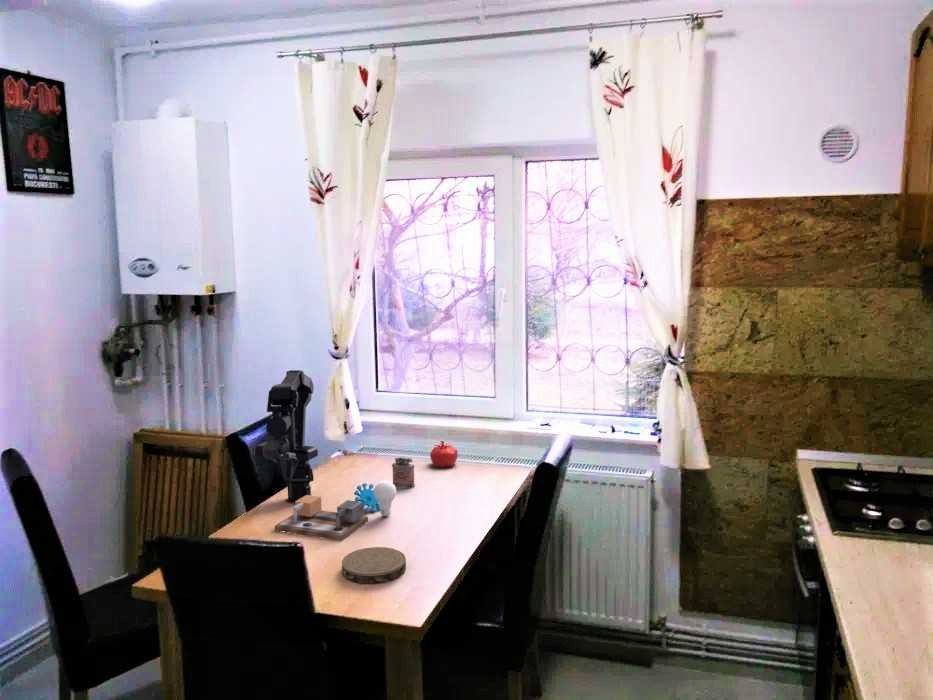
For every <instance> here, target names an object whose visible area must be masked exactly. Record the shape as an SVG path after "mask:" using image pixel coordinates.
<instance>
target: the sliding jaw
mask: <svg viewBox="0 0 933 700" xmlns="http://www.w3.org/2000/svg"><path fill="white" fill-rule="evenodd" d="M311 495H312V494H311ZM311 495H306V496H304V497H302V498H300V499H299V500H297V501H295V503H294V504H295V505H294V506H293V507H292V513H293V514H292V515H294V523H296V522H297V515H302V516H309V517H311V516H312V515H314V514H316V513H317V512H319V511H320V510H322V496H318V495H312V496H311ZM322 511H323V510H322Z"/></svg>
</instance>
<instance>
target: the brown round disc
mask: <svg viewBox="0 0 933 700" xmlns="http://www.w3.org/2000/svg"><path fill="white" fill-rule="evenodd" d="M406 560H407V559H406V555H405V554H404V553H403V552H402V551H401V550H398V549H396V548H395V549H394V548H391V547H384V546H382V547H381V546H379V547H378V546H373V547H366V548H361V549H356V550H354V551H351V552H349V553H348V554H347V555H345V556H344V557H343V559H342V561H341V572H342V577H343V578H345V580H346V581H349V582H350V583H353V584H354V583H355V584H359V585H372V586H375V585H381V584H385V583H389V582H390V583H391V582H393V581H395V580H396V579H400V578H401V577H402V576H403V575H404V574H405V572H406V570H407V563H406V562H407V561H406Z"/></svg>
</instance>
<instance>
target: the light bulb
mask: <svg viewBox="0 0 933 700" xmlns="http://www.w3.org/2000/svg"><path fill="white" fill-rule="evenodd" d="M373 488H374V489H373V490H374V496H375V498H376V499H377V501H378V503H379V505H380V509H381V510H380V515H381V516H382V517H388V516H389V515H391V513H392V511H391V509H392V503H393V501H394V499H395V498H396V495H397V487H395V486H394V484H393V481H392V482H391V481H390V480H385V479H384V480H381V481H379V482H378V483H376V485H375V486H374V487H373Z"/></svg>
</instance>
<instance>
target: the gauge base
mask: <svg viewBox="0 0 933 700" xmlns="http://www.w3.org/2000/svg"><path fill="white" fill-rule="evenodd" d="M366 522H367V523H368V522H369V517H368V516H366V515H365V516H364V507H363V502H361V501H355V500H349V499H347V500H345V501H344V502H342V503H341V504H339V505H337V507H336V512H335V511H330V510H329V511H328V510H320V511H319V512H317V513H316V514H314V515H312V516H311V517H309V516H302V515H297V522H296V523H294V515H293V514H292V515H290V516H289V517H287V518H286V519H284V520H282V521H280V522H278V523H276V525H274V531H275V530H278V531H277V532H280V531H285V532H284V533H287V532H290V533H289V534H293V533H296V534H295V535H300V534H301V536H306V537H307V536H308V537H313V536H315V537H314V538H320V537H322V538H321V539H329V540H334V541H340V540H341V542H343V541H344V540H345V539H347V538H348V537H350V536H351V535H353V534H354V533H355V532H356V531H357V530H359V529H360V528H361V527H363V526H364V525H366V524H367V523H366ZM365 523H366V524H365ZM362 525H363V526H362ZM358 528H359V529H358ZM350 534H351V535H350Z"/></svg>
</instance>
